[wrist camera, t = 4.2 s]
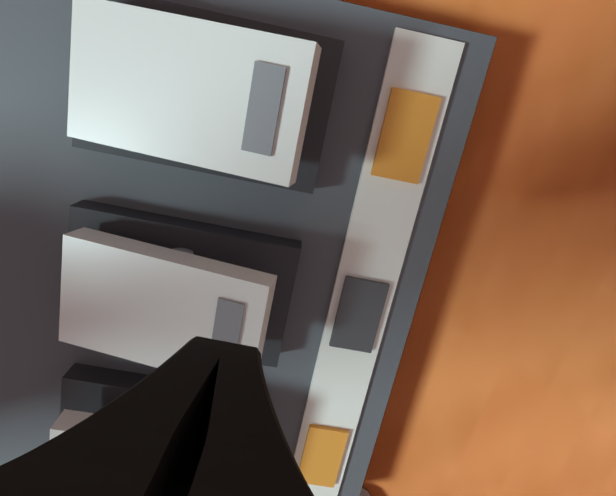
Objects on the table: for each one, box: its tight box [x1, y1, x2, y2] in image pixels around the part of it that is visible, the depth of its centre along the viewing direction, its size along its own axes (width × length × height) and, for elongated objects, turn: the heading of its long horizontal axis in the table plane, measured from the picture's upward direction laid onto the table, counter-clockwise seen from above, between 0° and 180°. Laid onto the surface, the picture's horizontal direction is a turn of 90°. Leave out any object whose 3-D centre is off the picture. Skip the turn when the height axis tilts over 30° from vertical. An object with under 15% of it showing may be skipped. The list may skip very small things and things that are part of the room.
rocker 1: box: [67, 0, 322, 187], centre depth 12 cm, size 6×4×1 cm, turn 79°
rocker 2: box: [59, 227, 277, 368], centre depth 14 cm, size 6×4×1 cm, turn 79°
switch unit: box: [0, 0, 497, 496], centre depth 17 cm, size 17×20×4 cm
